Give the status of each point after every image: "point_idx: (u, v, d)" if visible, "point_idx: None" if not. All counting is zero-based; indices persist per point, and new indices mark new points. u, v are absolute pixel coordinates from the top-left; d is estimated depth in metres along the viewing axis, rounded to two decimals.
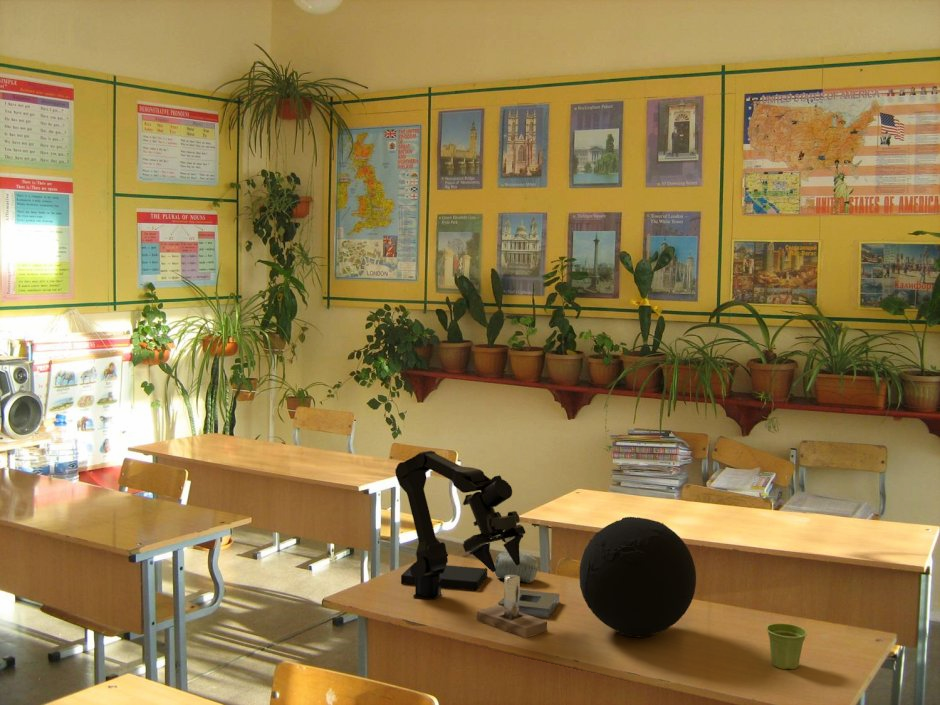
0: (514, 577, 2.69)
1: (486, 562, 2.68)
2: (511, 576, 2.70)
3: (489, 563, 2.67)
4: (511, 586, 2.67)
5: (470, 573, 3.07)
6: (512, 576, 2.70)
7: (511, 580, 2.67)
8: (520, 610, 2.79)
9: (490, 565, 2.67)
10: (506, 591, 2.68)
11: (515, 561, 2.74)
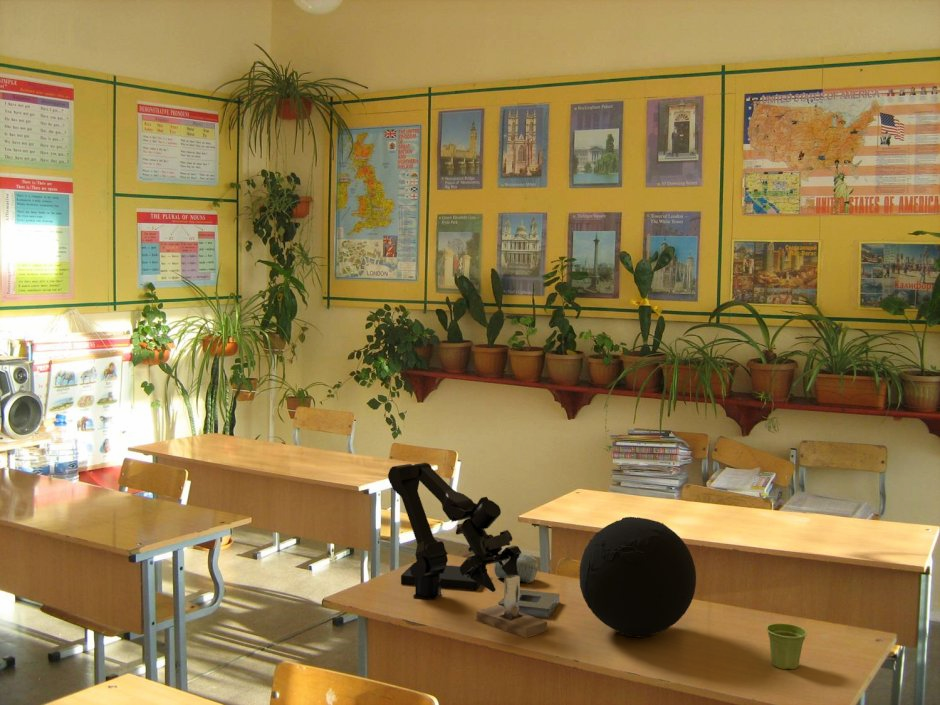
0: (514, 577, 2.69)
1: (485, 583, 2.68)
2: (511, 576, 2.70)
3: (488, 583, 2.68)
4: (511, 586, 2.67)
5: None
6: (512, 576, 2.70)
7: (511, 580, 2.67)
8: (520, 610, 2.79)
9: (489, 585, 2.68)
10: (506, 591, 2.68)
11: None
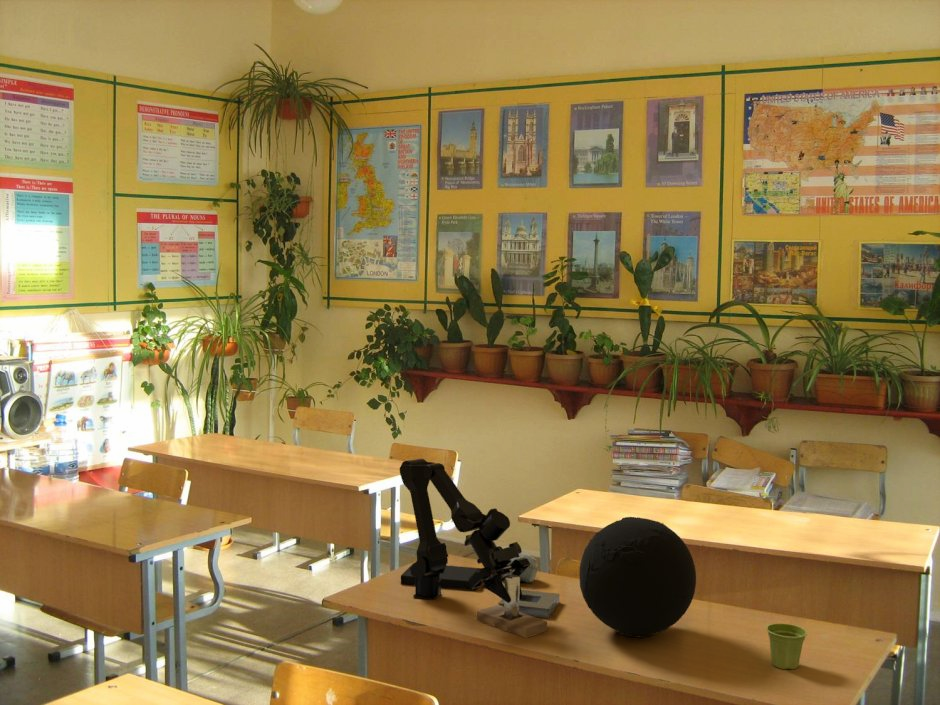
0: (514, 577, 2.69)
1: (500, 594, 2.68)
2: (511, 576, 2.70)
3: (503, 594, 2.67)
4: (511, 586, 2.67)
5: (470, 573, 3.07)
6: (512, 576, 2.70)
7: (511, 580, 2.67)
8: (520, 610, 2.79)
9: (505, 596, 2.67)
10: None
11: None
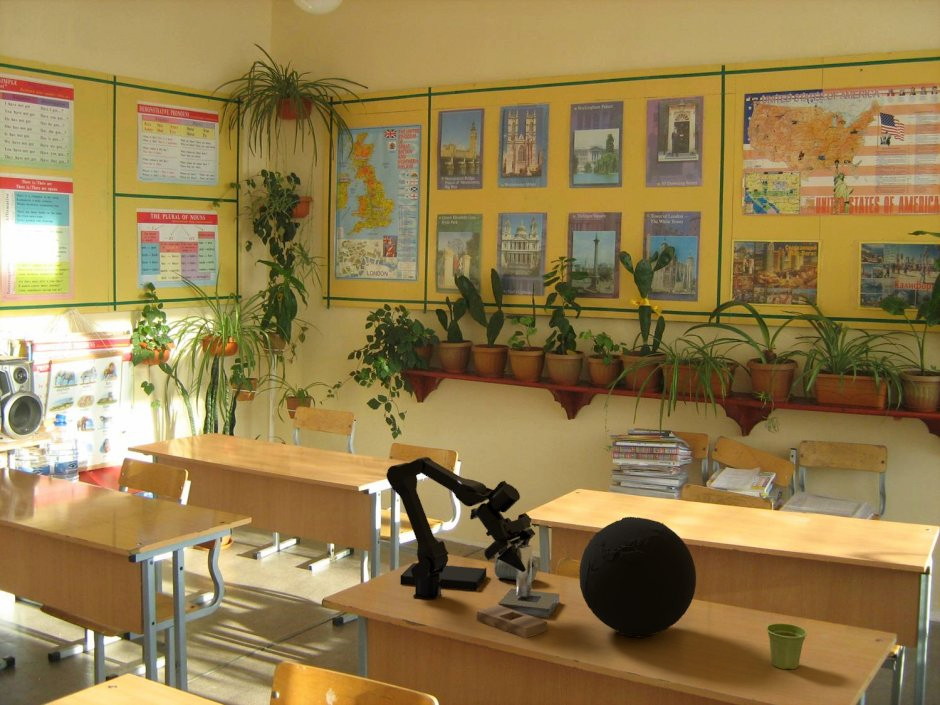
0: (527, 547, 2.75)
1: (515, 564, 2.74)
2: (523, 546, 2.76)
3: (518, 564, 2.73)
4: (525, 556, 2.74)
5: (469, 573, 3.07)
6: (524, 546, 2.76)
7: (525, 550, 2.73)
8: (520, 610, 2.79)
9: (519, 565, 2.73)
10: None
11: None
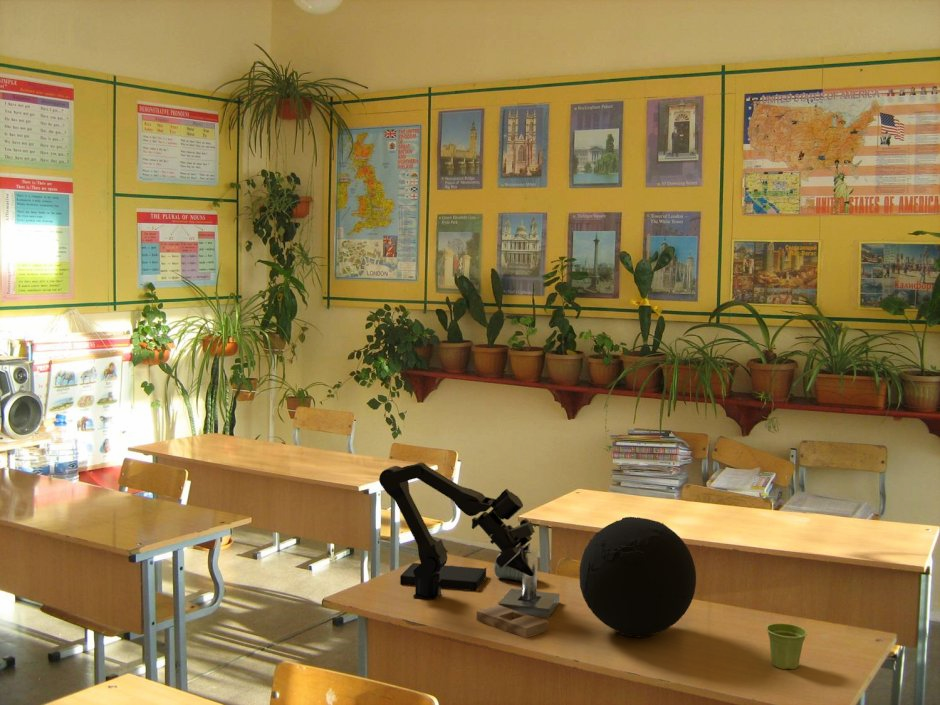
0: (532, 551, 2.84)
1: (523, 569, 2.82)
2: (529, 551, 2.84)
3: (527, 569, 2.81)
4: (533, 560, 2.82)
5: (469, 573, 3.07)
6: (529, 551, 2.84)
7: (533, 554, 2.82)
8: (520, 610, 2.79)
9: (528, 570, 2.81)
10: None
11: None
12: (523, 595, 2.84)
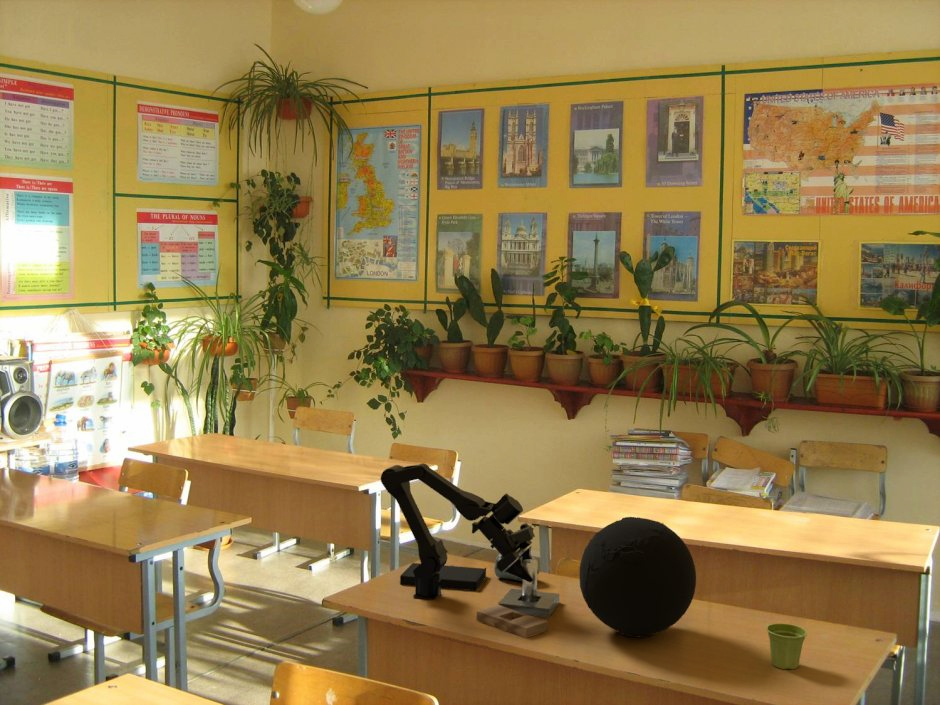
0: (532, 561, 2.84)
1: (522, 575, 2.80)
2: (529, 561, 2.84)
3: (526, 574, 2.80)
4: (533, 570, 2.82)
5: (469, 574, 3.07)
6: (529, 560, 2.85)
7: (533, 564, 2.82)
8: (520, 610, 2.79)
9: (527, 576, 2.80)
10: None
11: None
12: None
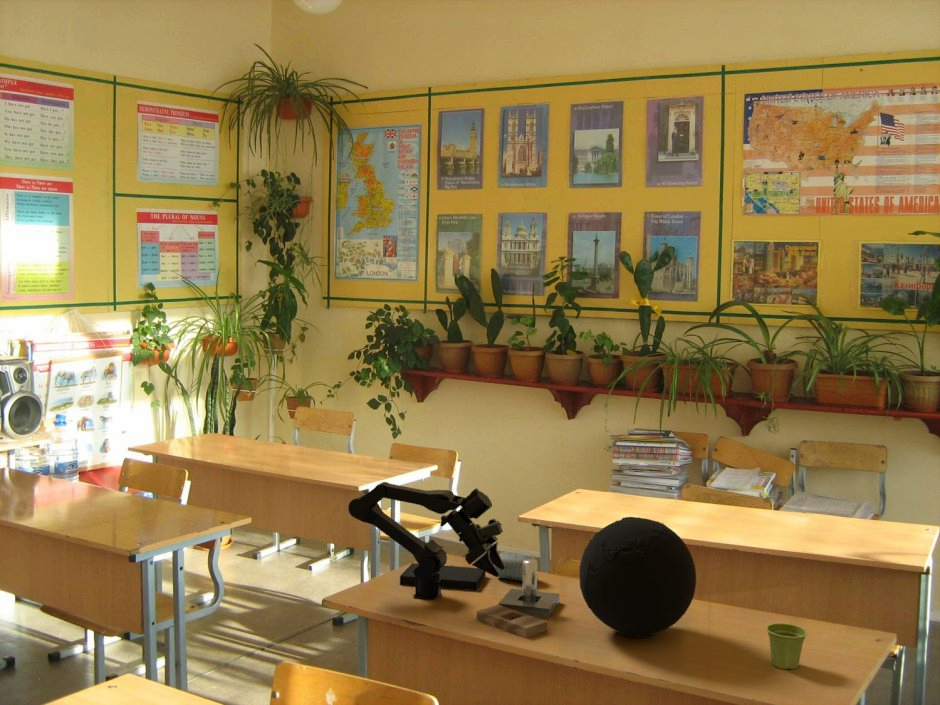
0: (532, 561, 2.84)
1: (489, 569, 2.82)
2: (528, 561, 2.84)
3: (492, 569, 2.82)
4: (533, 570, 2.82)
5: (469, 574, 3.07)
6: (529, 560, 2.85)
7: (532, 564, 2.82)
8: (520, 610, 2.79)
9: (493, 571, 2.82)
10: (527, 575, 2.83)
11: (500, 566, 2.92)
12: None
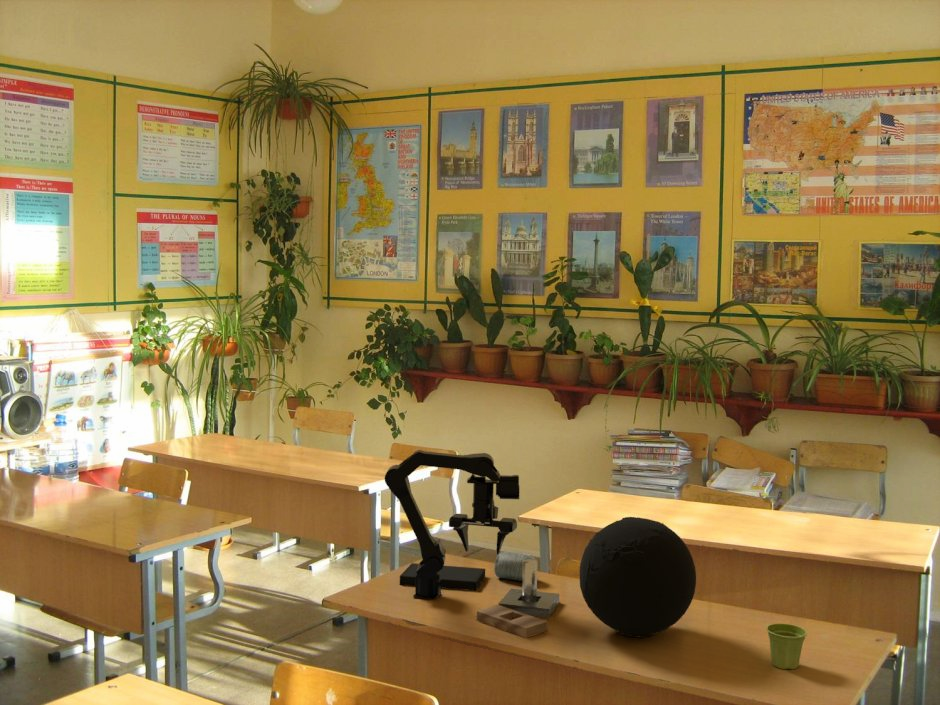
0: (532, 561, 2.84)
1: (501, 544, 2.90)
2: (528, 561, 2.84)
3: (501, 546, 2.91)
4: (533, 570, 2.82)
5: (469, 573, 3.07)
6: (529, 560, 2.85)
7: (532, 564, 2.82)
8: (520, 610, 2.79)
9: (500, 548, 2.91)
10: (527, 575, 2.83)
11: (467, 547, 2.93)
12: None
